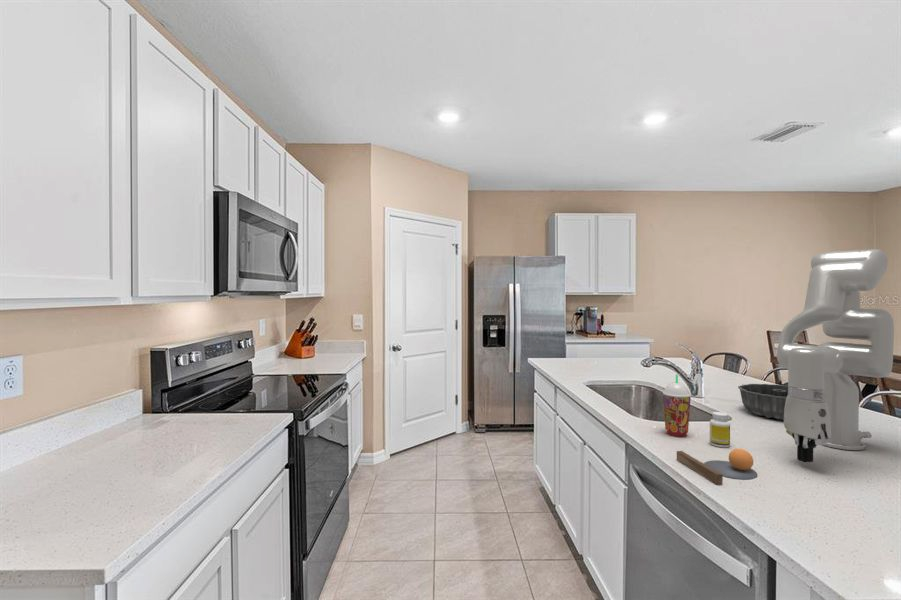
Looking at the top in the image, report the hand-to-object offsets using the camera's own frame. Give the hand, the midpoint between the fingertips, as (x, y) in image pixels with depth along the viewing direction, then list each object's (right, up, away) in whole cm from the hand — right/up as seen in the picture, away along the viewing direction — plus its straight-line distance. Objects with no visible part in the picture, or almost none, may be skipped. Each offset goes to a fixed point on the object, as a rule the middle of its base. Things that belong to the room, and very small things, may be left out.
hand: (805, 460), depth 117 cm
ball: (-19, +1, -2) cm, 19 cm away
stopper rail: (-31, -2, -3) cm, 31 cm away
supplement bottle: (-13, -2, +17) cm, 21 cm away
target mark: (-22, -2, -2) cm, 22 cm away
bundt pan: (+30, -1, +49) cm, 58 cm away
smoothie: (-21, -1, +27) cm, 34 cm away
